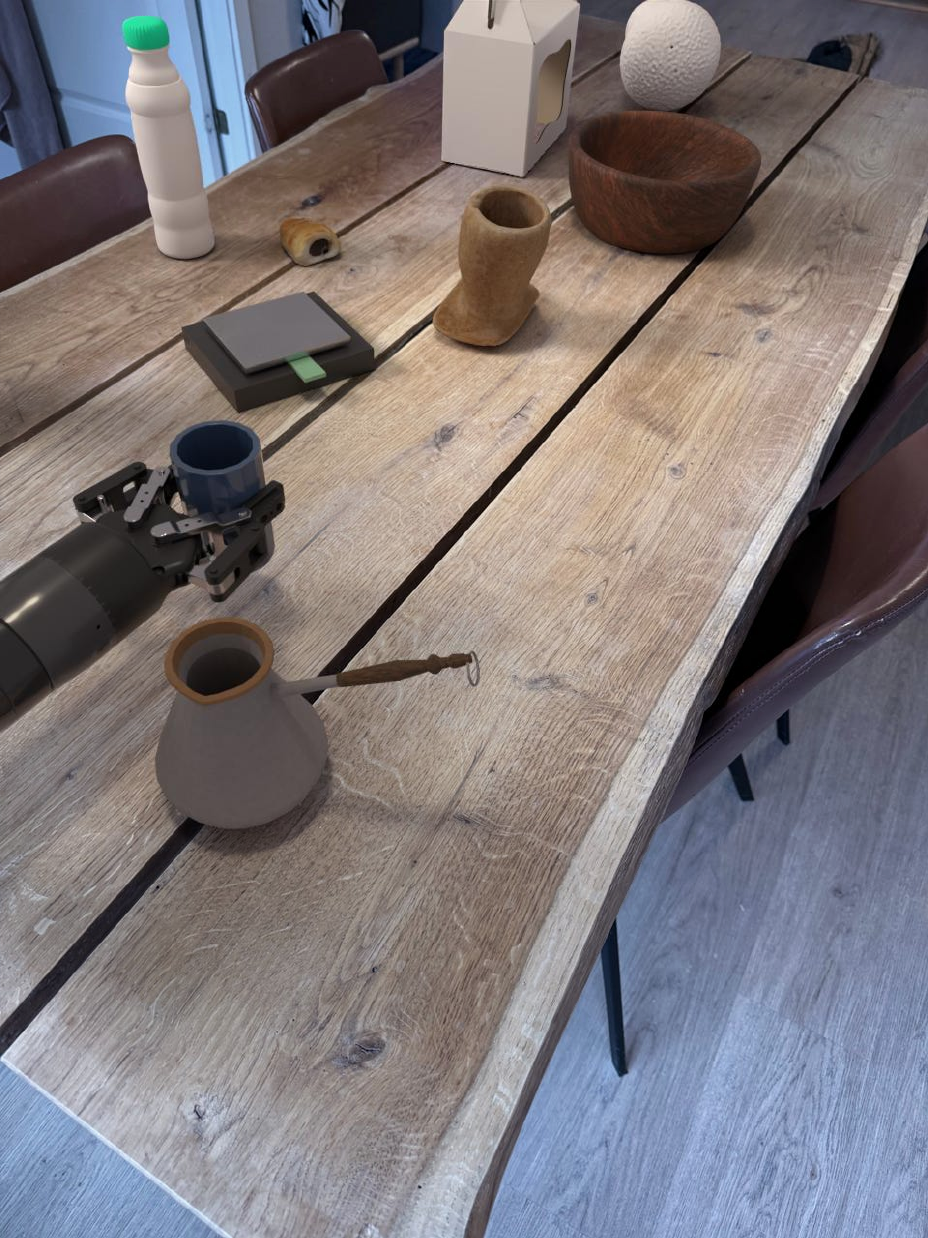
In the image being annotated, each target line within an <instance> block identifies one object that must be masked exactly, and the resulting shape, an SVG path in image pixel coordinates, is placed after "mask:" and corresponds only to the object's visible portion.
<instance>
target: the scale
mask: <svg viewBox="0 0 928 1238" xmlns="http://www.w3.org/2000/svg"><path fill="white" fill-rule="evenodd" d="M305 293H306V292H305ZM306 294H307V295H308V296H309V297H310V298H311V299H312V300H313V301H314V302H315V303H316V304H317V305H318V306H319V307H320V308H321V309H322V310H323V311H324V312H325V313H326V314H327V315H328V316H329V317H330V318H332V319H333V320H334V321H335V322H336V323H337V324H338V325H339V326H340V327H341V328H342V329H343V330H344V331H345V332H346V333H347V334H348V335H349V336H350V340H351V343H349V344H346V345H342V346H339V347H336V348H332V349H329V350H325V351H322V352H319V353H315V354H312V355H309V356H305V357H302V358H299V359H295V360H292V361H289V362H285V363H282V364H279V365H275V366H272V367H269V368H265V369H262V370H259V371H255V372H252V373H248V374H245V373H244V371H243V370H242V369H241V368H240V367H239V366H238V364H237V363H236V362H235V361H234V360H233V359H232V357H231V356H230V355H229V354H228V353H227V352H226V350H225V349H224V348H223V347H222V346H221V345H220V343H219V342H218V341H217V340H216V339H215V338H214V336H213V335H212V334H211V333H210V332H209V331H208V329H207V328H206V327H205V326H204V325H203V320H202V321H199V322H194V323H191V324H188V325H184V326H181V327H180V328H181V333H182V338H183V343H184V347H185V350H186V351H187V352H188V353H189V354H190V355H191V357H192V358H193V359H194V360H195V362H196V363H197V364H198V365H199V367H200V368H201V369H202V371H204V373H205V374H206V375H207V376H208V378H209V379H210V380H211V381H212V382H213V384H214V385H215V386H216V388H217V389H218V390H219V391H220V393H221V394H222V395H223V396H224V397H225V399H226V400H227V401H228V402H229V404H230V405H231V406H232V407H233V409H234V410H235V411H236V412H237V413H241V412H245V411H248V410H251V409H253V408H257V407H260V406H263V405H267V404H270V403H272V402H276V401H280V400H283V399H286V398H290V397H292V396H295V395H298V394H301V393H305V392H307V391H312V390H315V389H316V388H317V389H318V388H321V387H324V386H326V385H327V386H328V385H330V384H333V383H336V382H339V381H342V380H346V379H349V378H352V377H355V376H359V375H362V374H365V373H368V372H371V371H374V370H376V360H375V359H376V357H375V347H374V346H372V345H371V344H370V343H369V342H368V341H367V339H365V338H364V337H363V335H361V334H360V333H359V331H357V330H356V329H355V328H353V327H352V326H351V324H349V323H348V322H347V321H346V320H345V319H344V318H343V317H342V316H341V315H340V314H339V313H338V312H337V311H336V310H335V309H334V308H332V306H331V305H330V304H328V303H327V302H326V301H325V300H324V299H323V298H322V297H321V296H320V295H319V294H318V293H316V291H311V292H310V291H309V292H307V293H306Z"/></svg>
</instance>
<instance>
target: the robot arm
mask: <svg viewBox="0 0 928 1238" xmlns="http://www.w3.org/2000/svg"><path fill="white" fill-rule="evenodd" d="M132 483H133V486H132V487H131V488H129V489H127V490H125V491H124V488H125V487H127V486H128V485H130V484H132ZM177 493H178V494H179V492H178V488H177V484H176V480H175V476H174V472H173V467H172V463H171V464H170V465H168V466H157V467H155V468H154V469H152V468H147V464H146V463H145V462H143V461H135V462H132V463H131V464H129V465H127V466H125V467H123V468H122V469H120V470H118V471H116V472H114V473H113V474H111V475H109V476H107V477H106V478H104V479H101V480H100V481H98V482H96V483H94V484H93V485H91V486H90V487H89V486H88V488H86V489H84V490H82V491H80V492H79V493H77V494H75V495H74V496H73V497H72V503H73V506H74V509H75V512H76V515H77V518H78V520H79V522H80V524H79V525H78V526H76V527H75V528H73V529H72V530H71V531H68V533H66V534H64V535H63V536H62V537H61V538H59V539H58V540H56V541H54V542H53V543H52V544H50V545H49V546H47V547H46V548H45V549H44V550H42V551H41V552H38V553H37V554H36V555H35V556H33V557H32V558H30V559H29V560H27V561H26V562H25V563H23V564H22V565H20V566H19V567H17V568H16V569H14V570H13V571H12V572H10V573H8V575H6V576H5V577H3V578H2V579H1V580H0V735H1V734H2V733H4V732H5V731H6V730H8V729H9V728H10V727H12V725H14V724H16V723H17V722H18V721H19V720H20V719H22V718H23V717H24V716H25V715H26V714H28V713H29V712H30V711H31V710H33V709H34V708H35V707H36V706H37V705H39V704H40V703H41V702H42V701H44V700H45V699H46V698H47V697H49V696H50V695H51V694H52V693H54V692H55V691H56V690H58V689H59V688H61V687H62V686H64V685H66V684H67V683H69V682H70V681H73V680H74V679H76V678H78V677H79V676H80V675H81V674H83V673H84V672H86V671H87V670H88V669H89V668H90V667H92V666H93V665H94V664H95V663H97V662H99V660H101V658H103V657H104V656H105V655H106V654H108V653H109V652H110V651H111V650H112V649H114V648H116V646H118V645H119V644H120V643H121V642H122V641H124V640H125V639H126V638H127V637H129V636H130V635H131V634H133V632H134V631H136V630H137V629H138V628H139V627H141V626H142V625H143V624H144V623H145V622H147V621H148V620H149V619H150V618H152V617H153V616H154V615H155V614H157V613H158V611H160V609H161V607H162V606H163V604H164V602H165V600H166V599H167V597H168V596H169V595H170V594H171V593H172V592H174V591H176V590H178V589H181V588H184V587H187V586H189V585H191V584H192V585H194V586H197V587H199V588H201V589H204V590H206V591H207V592H208V594H209V598H210V600H211V601H212V602H213V603H216V604H217V603H218V604H220V603H222V602H225V601H227V600H228V598H229V597H231V596H232V594H233V593H234V592H235V591H236V590H237V589H238V588H239V587H240V586H241V585H242V584H243V583H244V582H245V581H246V579H248V577H249V576H250V575H251V574H252V572H253V571H254V570H255V569H256V568H257V567H258V565H259V564H260V563H261V562H262V561H263V560H264V559H265V558H266V557H267V556H268V554H269V552H268V546H267V539H266V533H265V526H266V525H267V524H268V523H270V522H271V521H272V522H273V521H274V519H276V518H277V517H278V516H279V515H281V514H282V513H283V512H284V510H285V508H286V495H285V487H284V484H283V483H281V482H280V481H277V480H275V479H272V480H270V481H269V482H268V483H266V485H265V486H264V487H263V488H262V489H260V490H259V491H258V492H257V493H256V494H254V495H253V496H252V497H250V498H249V499H248V500H246V501H245V502H244V503H243V504H241V507H242V508H238V509H235V510H232V511H229V512H225V513H222V514H219V515H216V514H215V513H213V512H207V513H204V514H201V515H197V516H194V517H190V516H188V515H185V514H184V513H181V512H178V511H176V510H175V508H173V505H174V503H175V500H176V499H177ZM233 527H236V528H237V531H234V532H231V533H228V534H225V535H222V533H223V531H224V530H227V529H230V528H233ZM204 531H208V535H209V543H208V544H207V545H206V546H203V541H202V537H201V532H204ZM203 564H204V565H203ZM253 573H254V572H253Z"/></svg>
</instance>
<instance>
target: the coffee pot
mask: <svg viewBox="0 0 928 1238" xmlns="http://www.w3.org/2000/svg"><path fill="white" fill-rule="evenodd" d="M473 659H474V661H475V669H476V678H475V682H474V681H473V679H472V676H471V670H470V669H471V668H470V665H471V664H472V663H473ZM274 660H275V649H274V643H273V641H272V639H271V638H270V636H269V635H268V634H267V632H266V630H264V629H263V628H261V626H259V625H257V624H256V623H254V622H252V621H250V620H247V619H243V618H238V617H234V616H228V617H227V616H225V617H223V616H221V617H215V618H209V619H204V620H202V621H200V622H197V623H196V624H192V625H191V626H190V627H188V628H186V629H185V630H183V631H181V633H179V634H178V636H176V637H175V638H174V639H173V640H172V641H171V644H170V645H169V647H168V649H167V650H166V653H165V658H164V662H163V668H164V675H165V677H166V678H167V681H168V682H169V684H170V685H171V687H173V688H174V689H175V690H176V694H175V697H174V698H173V702H172V705H171V707H170V710H169V712H168V715H167V718H166V720H165V723H164V726H163V728H162V731H161V734H160V737H159V739H158V744H157V749H156V753H155V756H154V765H155V774H156V780H157V783H158V785H159V787H160V789H161V791H162V793H163V796H164V797H165V798H166V799H167V801H168V802H169V803H171V804H172V806H173V807H175V809H176V810H177V811H178V812H179V813H181V814H182V815H185V816H186V817H188V818H190V819H192V820H193V821H196V822H198V823H199V824H202V825H207V826H211V827H214V828H219V829H224V830H229V829H230V830H231V829H234V830H235V829H236V830H237V829H249V828H253V827H258V826H260V825H264V824H265V825H266V824H268V823H270V822H272V821H274V820H276V819H279V818H281V817H282V816H285V815H287V814H288V813H289V812H291V811H292V810H293V809H294V808H296V807H297V806H298V805H299V804H300V803H302V802H303V801H304V800H305V799H306V798H307V796H308V795H309V793H311V791H312V789H314V786H316V784H317V783H318V781H319V780H320V778H321V775H322V772H323V770H324V767H325V765H326V763H327V759H328V745H329V739H328V735H327V731H326V727H325V724H324V721H323V720H322V718H321V716H320V715H319V713H318V712H317V710H316V709H315V707H314V705H313V704H312V703H310V702H309V701H308V700H307V699H306V698H305V697H303V694H308V693H312V692H313V693H314V692H318V691H323V690H329V689H334V688H347V687H358V686H365V685H366V686H367V685H376V684H385V683H395V682H402V681H405V680H407V679H410V678H414V677H416V676H420V675H424V674H426V673H429V674H431V675H433V676H437V675H439V674H440V673H441V672H442V670H445V669H449V668H450V669H455V670H457V669H460V668H463V667H465V669H466V670H465V671H466V677H467V681H468V682H469V685H470V686H471V687H473V688H475V687H477V686H478V685H479V683H480V680H481V672H480V671H481V669H480V668H481V667H480V662H479V658H478V655H477V653H476V652H475V650H473V649H472V650H469V651H468V652H467V653H463V652H461V653H460V652H459V653H458V652H456V653H455V652H454V653H452V654H449V655H448V656H439V655H437V654H435V653H431V654H430V655H428V657H427V658H425V659H423V658H422V659H395V660H389V661H386V662H381V663H377V664H373V665H372V664H371V665H368V666H363V667H359V668H355V669H350V670H347V671H342V672H338V673H337V674H331V675H323V676H317V677H310V678H309V677H308V678H303V679H295V680H289V681H288V680H287V681H286V680H285V679H284V678H283V677H282V676H281V675H280V674H278V673H277V672H276V671H275V670H274V669H273V668H272V667H273V665H274Z"/></svg>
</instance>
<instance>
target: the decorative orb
mask: <svg viewBox="0 0 928 1238" xmlns="http://www.w3.org/2000/svg"><path fill="white" fill-rule="evenodd" d="M718 28H719V27H718V26H717V25H716V22H715V20H714V19H713V17H712V15H710V13H709V12H708V11H707V10H706V9H704V8H703V7H702V6H701V5H699V4H697V3H695V2H692V1H690V0H644V1H643V2H641V3H640V4H639V5H637V6H636V8H635V9H634V10H633V12H632V13H631V15H630V17H629V18H628V21H627V23H626V27H625V32H624V33H625V34H624V36H625V37H624V41H623V43H622V47H621V49H620V55H619V69H620V77H621V81H622V85H623V87H624V89H625V91H626V93H627V95H629V97H630V98H631V99H632V101H634V102H635V103H636V104H637V105H639V106H640V107H642V108H645V109H646V111H661V112H673V111H675V110H679V109H681V108H684V107H686V106H688V105H690V104H691V103H693V101H695V100H696V99H697V98H699V97H700V96H701V95H702V94H703V93H704V92H705V90H706V89H707V88H708V86H709V85H710V83H711V81H712V80H713V78H714V76H715V74H716V72H717V69H718V67H719V62H720V60H721V50H722V41H721V34H720V32H719V29H718Z"/></svg>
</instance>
